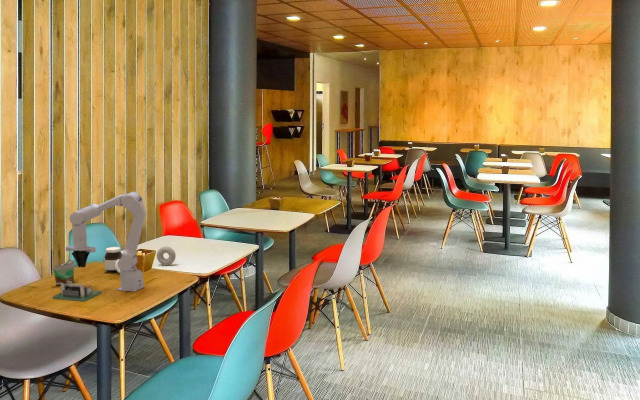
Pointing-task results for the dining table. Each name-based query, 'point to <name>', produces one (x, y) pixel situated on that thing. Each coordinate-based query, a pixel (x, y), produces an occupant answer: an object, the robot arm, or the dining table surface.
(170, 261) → the donut
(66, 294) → the green base metal fixture
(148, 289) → the dining table surface
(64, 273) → the food container
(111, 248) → the spread jar
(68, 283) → the grey and orange bar
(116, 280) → the dining table surface
